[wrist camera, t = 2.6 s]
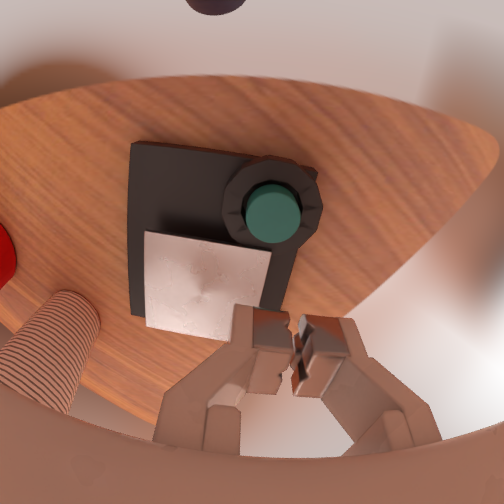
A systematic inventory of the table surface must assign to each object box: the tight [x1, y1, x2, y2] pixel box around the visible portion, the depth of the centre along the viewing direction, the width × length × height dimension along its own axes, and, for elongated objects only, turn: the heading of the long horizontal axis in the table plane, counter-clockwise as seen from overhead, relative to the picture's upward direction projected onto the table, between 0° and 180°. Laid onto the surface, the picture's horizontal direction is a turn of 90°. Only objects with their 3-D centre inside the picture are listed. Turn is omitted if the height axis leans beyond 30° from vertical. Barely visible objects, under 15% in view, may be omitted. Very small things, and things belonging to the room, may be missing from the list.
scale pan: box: [144, 229, 272, 341], centre depth 20 cm, size 8×8×1 cm
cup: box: [0, 290, 100, 415], centre depth 19 cm, size 8×8×16 cm
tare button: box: [246, 184, 301, 243], centre depth 17 cm, size 3×3×2 cm
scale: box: [127, 141, 323, 317], centre depth 20 cm, size 14×12×3 cm
